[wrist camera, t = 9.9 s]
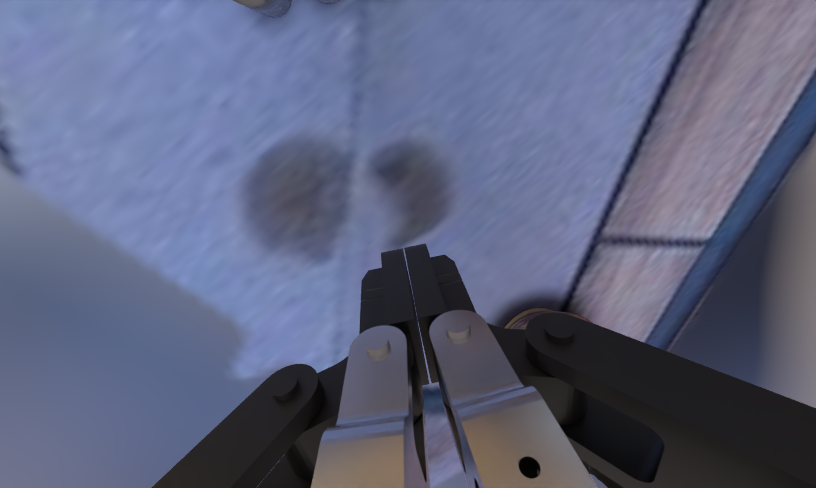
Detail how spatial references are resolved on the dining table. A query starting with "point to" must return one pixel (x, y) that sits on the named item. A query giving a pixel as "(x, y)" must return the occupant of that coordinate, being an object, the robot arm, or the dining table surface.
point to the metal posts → (272, 6)
